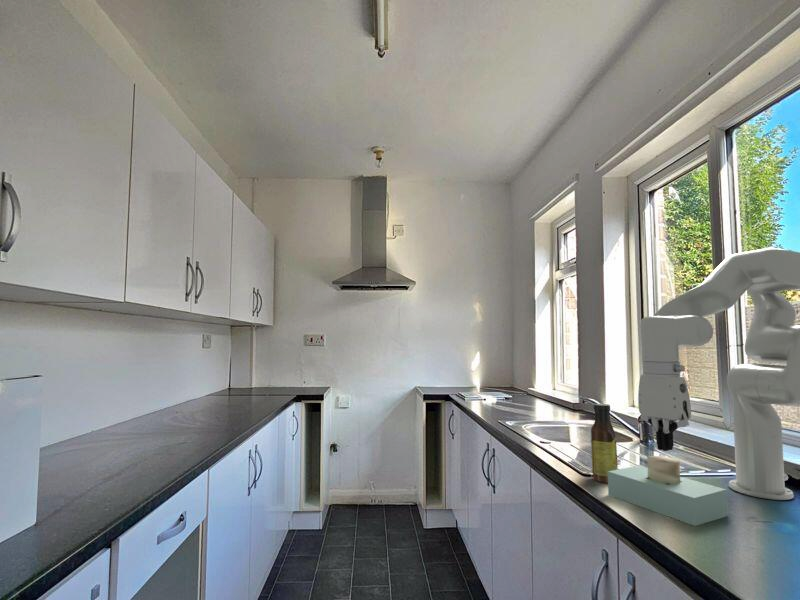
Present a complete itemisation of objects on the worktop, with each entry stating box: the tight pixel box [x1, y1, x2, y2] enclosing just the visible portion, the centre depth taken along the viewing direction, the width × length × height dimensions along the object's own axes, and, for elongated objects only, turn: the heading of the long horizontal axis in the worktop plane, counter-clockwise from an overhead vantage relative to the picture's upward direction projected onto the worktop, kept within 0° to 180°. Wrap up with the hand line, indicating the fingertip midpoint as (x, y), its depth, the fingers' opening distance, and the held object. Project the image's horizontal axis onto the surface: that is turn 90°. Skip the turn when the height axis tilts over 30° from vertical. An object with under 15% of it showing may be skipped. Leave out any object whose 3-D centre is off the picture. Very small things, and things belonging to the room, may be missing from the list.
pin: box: [646, 455, 681, 485], centre depth 103 cm, size 6×6×10 cm
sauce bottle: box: [590, 403, 619, 484], centre depth 121 cm, size 6×6×20 cm
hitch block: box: [607, 465, 729, 527], centre depth 103 cm, size 12×20×6 cm, turn 28°
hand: (665, 449), depth 104 cm, fingers closed
